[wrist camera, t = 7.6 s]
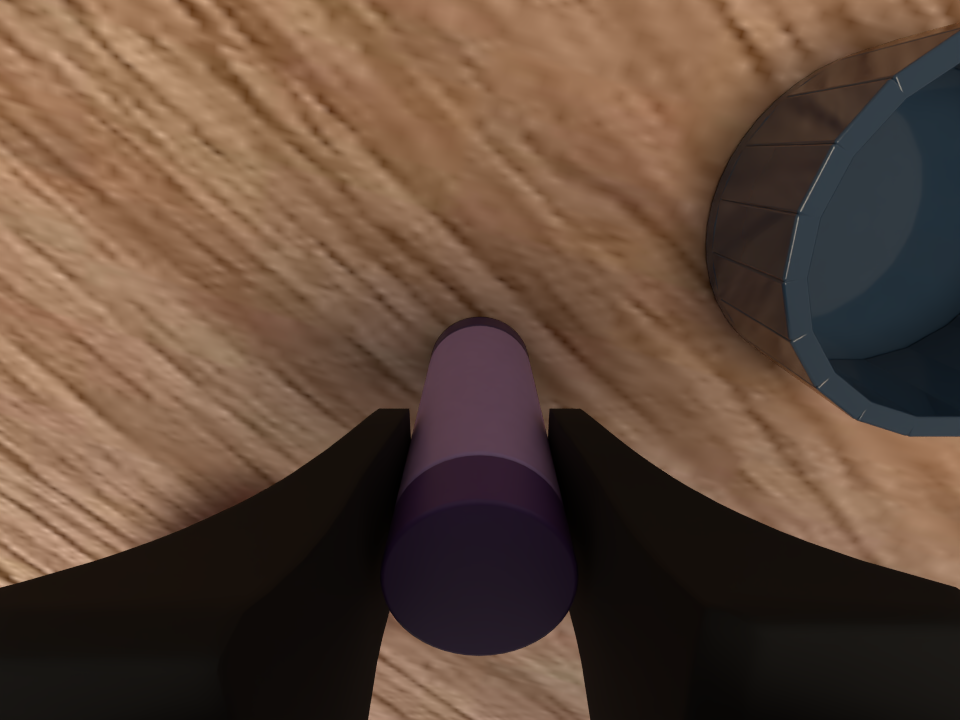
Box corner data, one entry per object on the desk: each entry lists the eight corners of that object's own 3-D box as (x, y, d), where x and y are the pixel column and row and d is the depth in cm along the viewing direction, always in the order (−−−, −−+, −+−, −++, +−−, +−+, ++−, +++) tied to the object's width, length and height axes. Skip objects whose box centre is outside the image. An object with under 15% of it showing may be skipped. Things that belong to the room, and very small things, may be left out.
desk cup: (969, 369, 15) (1125, 437, 12) (685, 369, 15) (750, 437, 12) (1084, 43, 12) (1342, -4, 9) (734, 43, 12) (841, -4, 9)
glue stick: (526, 406, 16) (572, 658, 8) (432, 406, 16) (385, 658, 8) (530, 316, 15) (586, 501, 7) (429, 316, 15) (371, 501, 7)
